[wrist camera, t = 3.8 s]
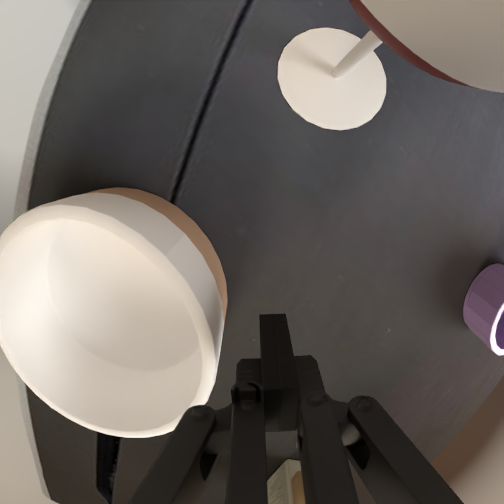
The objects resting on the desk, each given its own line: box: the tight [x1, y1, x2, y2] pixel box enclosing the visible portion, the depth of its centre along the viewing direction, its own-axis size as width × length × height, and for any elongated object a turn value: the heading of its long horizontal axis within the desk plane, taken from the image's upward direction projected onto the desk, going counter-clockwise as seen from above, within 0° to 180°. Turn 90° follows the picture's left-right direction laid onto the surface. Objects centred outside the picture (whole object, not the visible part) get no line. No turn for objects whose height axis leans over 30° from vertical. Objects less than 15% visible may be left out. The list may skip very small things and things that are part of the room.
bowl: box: [0, 187, 228, 438], centre depth 21 cm, size 17×17×8 cm
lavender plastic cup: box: [463, 263, 504, 355], centre depth 23 cm, size 7×7×5 cm
